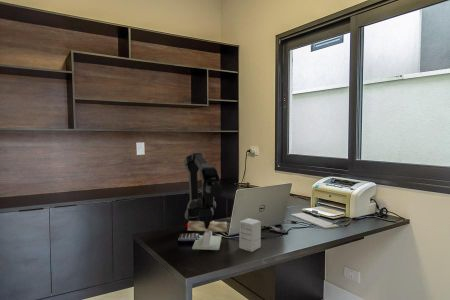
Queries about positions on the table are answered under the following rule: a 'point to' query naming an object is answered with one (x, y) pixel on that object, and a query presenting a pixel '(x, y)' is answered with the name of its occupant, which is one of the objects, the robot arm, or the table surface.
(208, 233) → the ridge stand
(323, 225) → the grey flat block
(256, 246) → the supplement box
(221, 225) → the maple bar
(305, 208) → the table surface
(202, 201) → the robot arm
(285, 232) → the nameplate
